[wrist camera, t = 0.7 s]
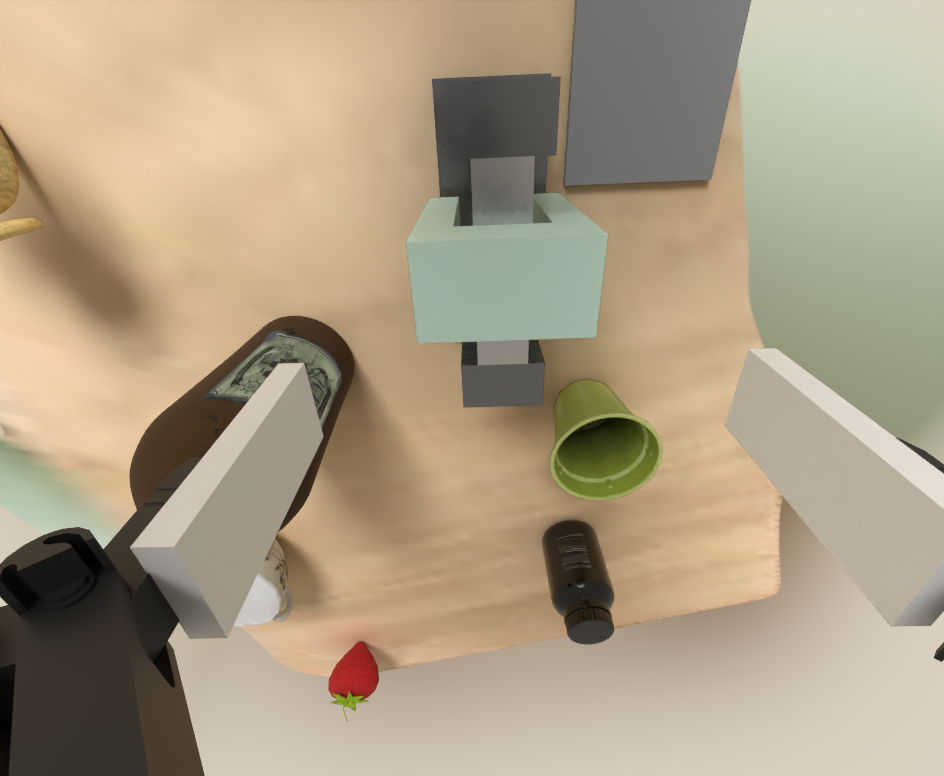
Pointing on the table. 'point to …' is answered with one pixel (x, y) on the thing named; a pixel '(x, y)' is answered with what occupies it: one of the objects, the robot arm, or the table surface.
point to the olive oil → (231, 387)
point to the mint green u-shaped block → (506, 274)
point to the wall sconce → (11, 194)
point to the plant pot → (601, 444)
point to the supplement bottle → (579, 581)
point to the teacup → (268, 591)
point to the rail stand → (497, 200)
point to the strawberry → (354, 677)
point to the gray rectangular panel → (650, 88)
